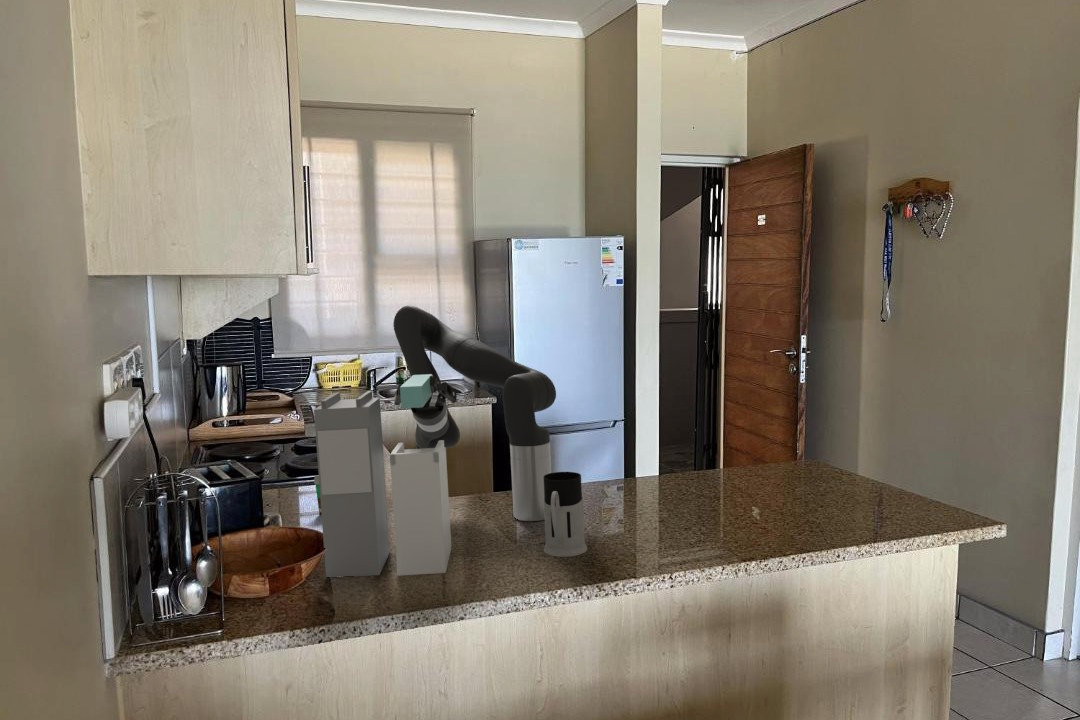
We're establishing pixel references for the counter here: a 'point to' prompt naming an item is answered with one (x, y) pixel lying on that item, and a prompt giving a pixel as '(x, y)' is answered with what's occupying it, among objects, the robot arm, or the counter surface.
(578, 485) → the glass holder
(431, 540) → the white open box
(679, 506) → the counter surface
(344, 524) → the tall grey pillar
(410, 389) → the teal square bar
